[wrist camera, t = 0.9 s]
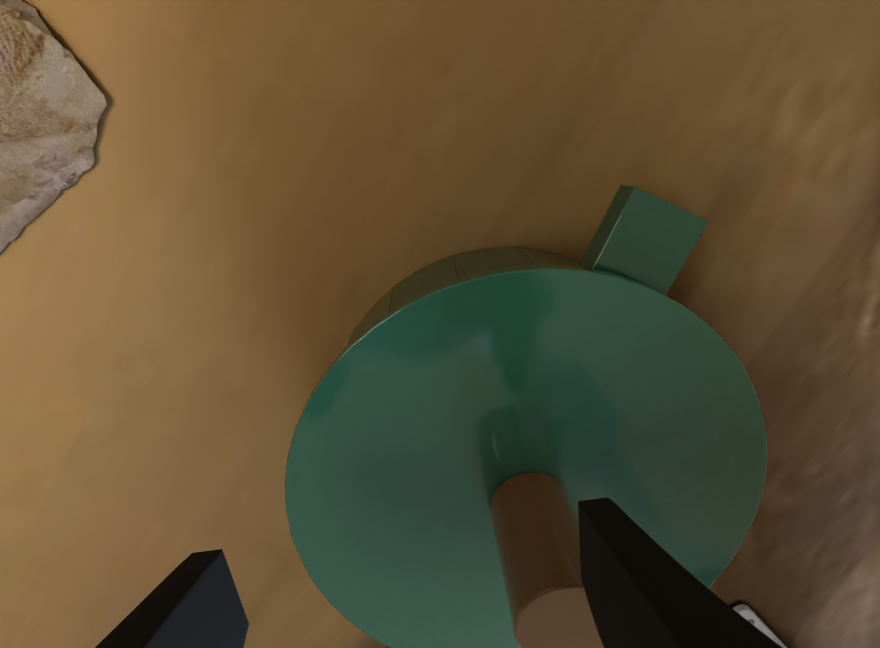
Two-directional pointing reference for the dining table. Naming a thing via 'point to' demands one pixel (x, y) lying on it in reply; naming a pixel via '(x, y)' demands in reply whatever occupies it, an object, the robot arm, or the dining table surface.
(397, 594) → the pot lid
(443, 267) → the pot
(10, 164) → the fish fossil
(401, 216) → the dining table surface
